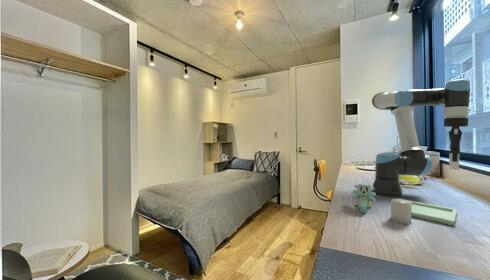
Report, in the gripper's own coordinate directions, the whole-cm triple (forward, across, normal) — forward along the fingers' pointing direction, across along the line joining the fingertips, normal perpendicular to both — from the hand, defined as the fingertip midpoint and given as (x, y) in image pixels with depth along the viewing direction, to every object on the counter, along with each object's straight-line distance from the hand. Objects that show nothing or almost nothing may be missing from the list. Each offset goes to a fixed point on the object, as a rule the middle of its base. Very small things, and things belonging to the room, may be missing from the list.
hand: (453, 167), depth 96 cm
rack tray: (+21, -5, +9) cm, 23 cm away
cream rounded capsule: (+21, -20, +16) cm, 33 cm away
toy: (+21, -16, +31) cm, 41 cm away
